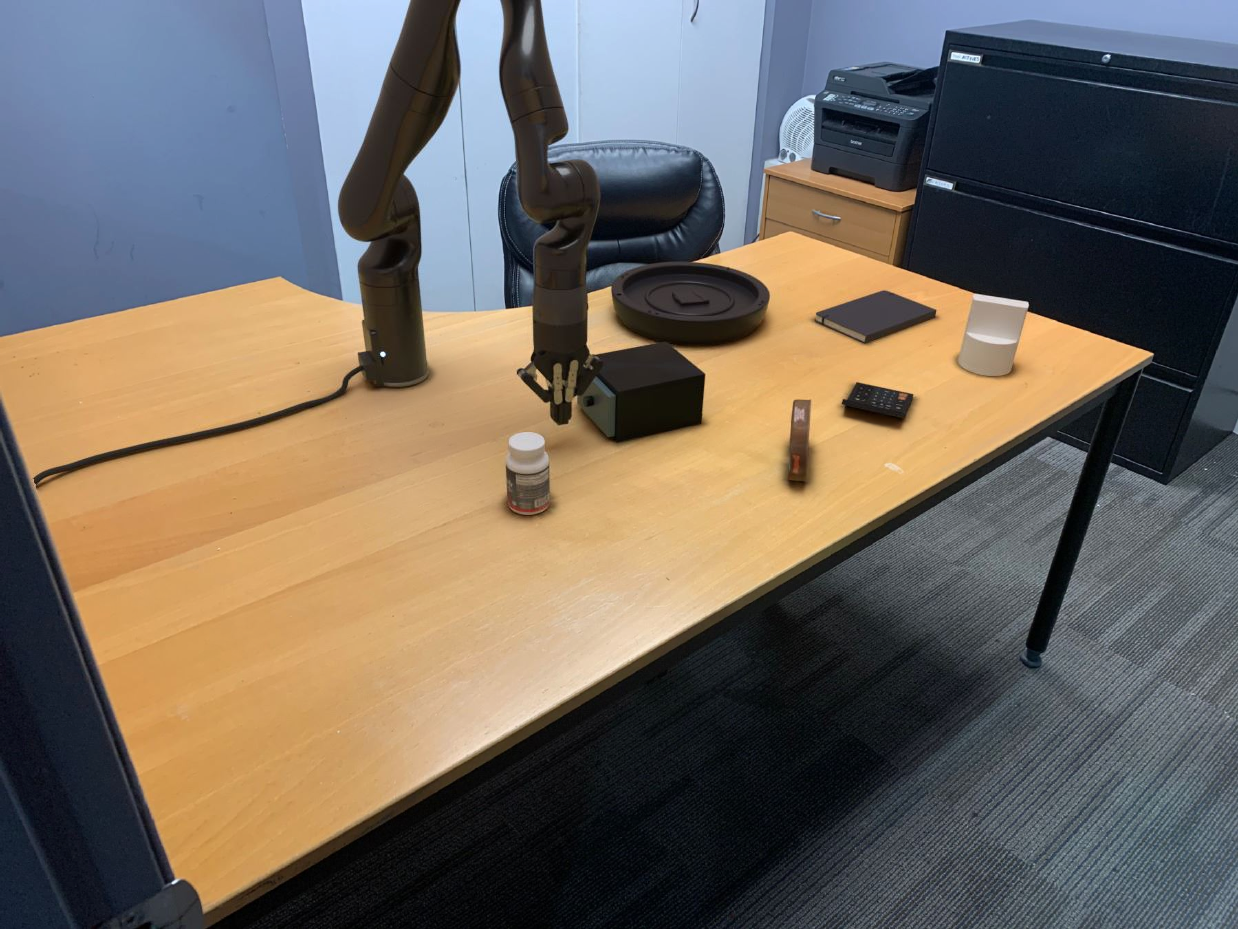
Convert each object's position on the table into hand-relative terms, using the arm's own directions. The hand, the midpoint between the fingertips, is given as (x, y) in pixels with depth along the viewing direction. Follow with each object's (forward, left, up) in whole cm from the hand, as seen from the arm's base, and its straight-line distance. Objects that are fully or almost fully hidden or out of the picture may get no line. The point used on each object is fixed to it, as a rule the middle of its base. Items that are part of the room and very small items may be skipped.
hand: (560, 422), depth 136 cm
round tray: (+41, +34, -4) cm, 54 cm away
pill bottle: (-10, -13, -4) cm, 17 cm away
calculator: (+51, -10, -4) cm, 52 cm away
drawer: (+13, +3, -3) cm, 13 cm away
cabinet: (+15, +3, -4) cm, 16 cm away
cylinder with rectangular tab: (+79, -5, -4) cm, 79 cm away
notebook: (+74, +19, -4) cm, 77 cm away
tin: (+29, -19, -4) cm, 35 cm away
